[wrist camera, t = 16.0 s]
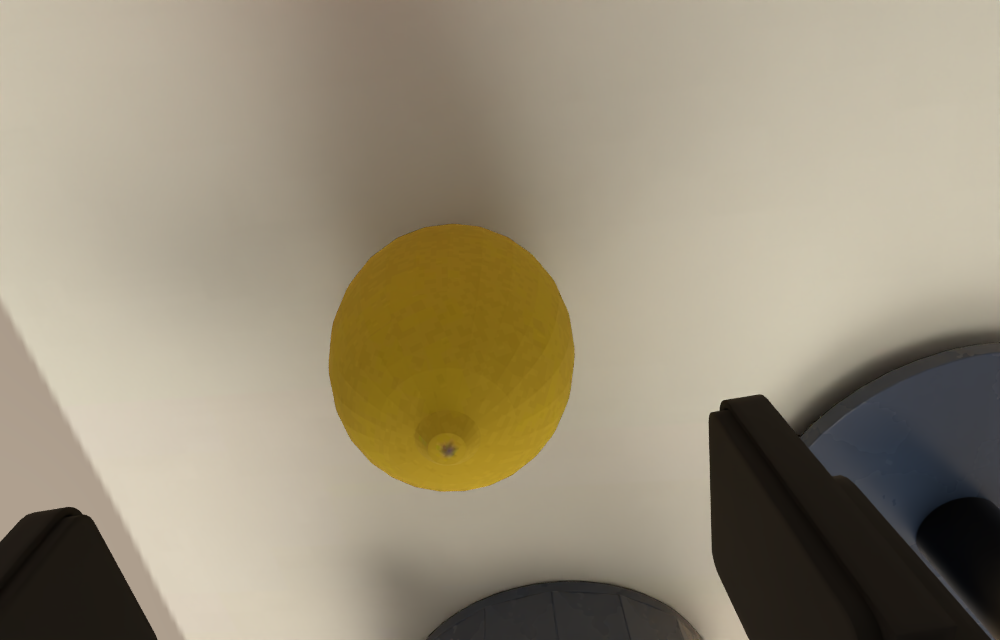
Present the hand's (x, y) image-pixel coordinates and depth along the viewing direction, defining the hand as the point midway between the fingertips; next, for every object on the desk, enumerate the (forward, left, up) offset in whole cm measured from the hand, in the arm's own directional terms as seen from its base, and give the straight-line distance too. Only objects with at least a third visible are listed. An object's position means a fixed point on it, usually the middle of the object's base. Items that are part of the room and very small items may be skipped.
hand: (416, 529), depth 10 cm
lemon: (0, 0, -10) cm, 10 cm away
